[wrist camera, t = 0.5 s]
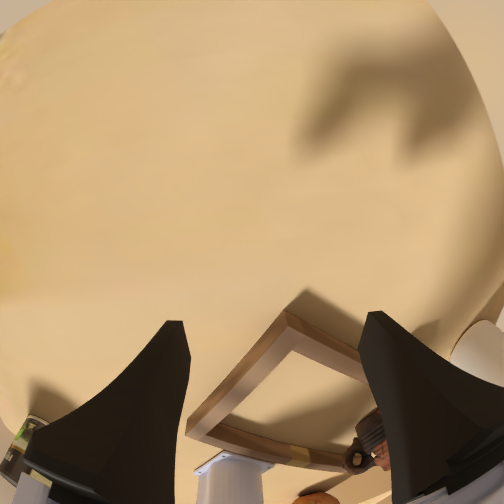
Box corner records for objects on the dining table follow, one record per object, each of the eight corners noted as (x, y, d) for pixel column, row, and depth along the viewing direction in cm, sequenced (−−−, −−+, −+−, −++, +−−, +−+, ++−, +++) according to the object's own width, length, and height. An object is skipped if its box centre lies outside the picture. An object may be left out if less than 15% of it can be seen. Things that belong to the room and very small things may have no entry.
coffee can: (24, 423, 29) (-4, 473, 15) (31, 407, 27) (-5, 466, 13) (68, 456, 31) (47, 508, 18) (82, 445, 29) (57, 509, 16)
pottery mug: (407, 383, 26) (445, 427, 20) (393, 399, 33) (423, 435, 27) (325, 444, 25) (361, 494, 19) (327, 447, 31) (356, 486, 25)
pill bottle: (450, 379, 26) (504, 453, 12) (444, 347, 24) (515, 432, 10) (490, 343, 25) (550, 405, 11) (489, 305, 23) (566, 371, 9)
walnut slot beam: (354, 462, 31) (358, 473, 29) (187, 419, 26) (184, 435, 23) (440, 391, 27) (448, 402, 25) (283, 309, 22) (288, 326, 19)
